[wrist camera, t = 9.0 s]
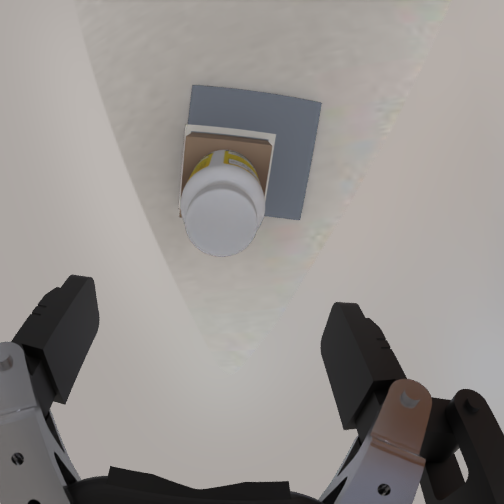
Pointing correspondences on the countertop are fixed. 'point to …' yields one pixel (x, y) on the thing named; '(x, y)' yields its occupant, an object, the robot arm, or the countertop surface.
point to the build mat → (263, 137)
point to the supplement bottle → (222, 203)
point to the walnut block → (207, 143)
